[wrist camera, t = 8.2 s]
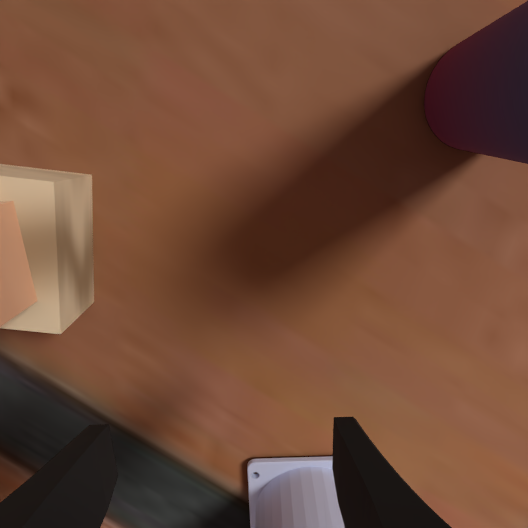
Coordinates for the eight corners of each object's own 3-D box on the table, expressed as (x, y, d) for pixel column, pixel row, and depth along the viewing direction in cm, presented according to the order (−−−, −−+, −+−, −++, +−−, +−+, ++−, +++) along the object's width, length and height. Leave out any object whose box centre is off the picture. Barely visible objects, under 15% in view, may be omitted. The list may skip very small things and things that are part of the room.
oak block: (95, 300, 22) (60, 334, 18) (-32, 287, 21) (-95, 318, 18) (93, 174, 20) (53, 181, 16) (-48, 157, 19) (-124, 161, 15)
